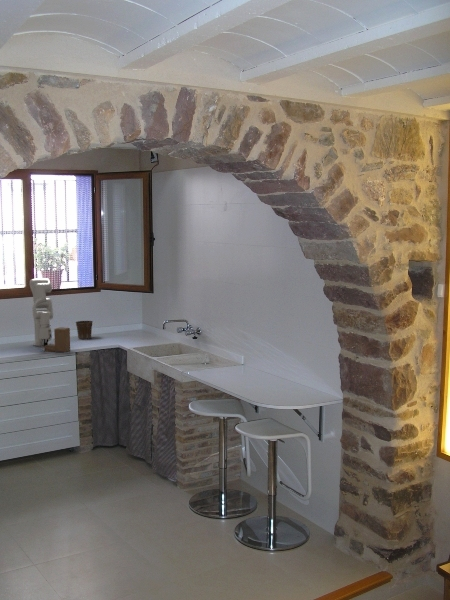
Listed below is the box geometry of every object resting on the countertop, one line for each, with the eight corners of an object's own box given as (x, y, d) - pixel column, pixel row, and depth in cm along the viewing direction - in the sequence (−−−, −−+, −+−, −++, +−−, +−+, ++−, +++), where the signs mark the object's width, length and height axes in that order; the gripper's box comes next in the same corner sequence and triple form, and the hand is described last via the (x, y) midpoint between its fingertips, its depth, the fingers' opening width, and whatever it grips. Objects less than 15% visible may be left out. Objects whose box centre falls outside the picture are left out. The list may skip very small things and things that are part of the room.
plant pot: (72, 338, 641) (72, 321, 639) (86, 336, 653) (85, 320, 651) (82, 340, 631) (82, 323, 629) (96, 338, 643) (96, 321, 641)
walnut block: (50, 349, 588) (50, 343, 587) (60, 350, 585) (60, 344, 584) (44, 351, 578) (44, 345, 577) (54, 352, 575) (54, 346, 575)
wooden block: (64, 352, 572) (64, 329, 570) (54, 351, 575) (53, 328, 572) (70, 350, 581) (70, 327, 579) (60, 349, 584) (59, 327, 582)
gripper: (55, 325, 583) (55, 346, 585) (40, 324, 588) (41, 345, 590) (49, 327, 576) (50, 348, 578) (35, 326, 581) (35, 347, 583)
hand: (45, 346), depth 584 cm, fingers closed
